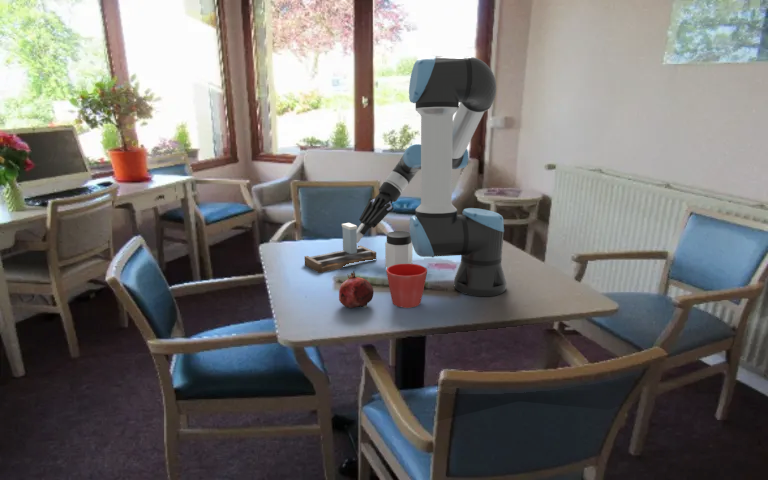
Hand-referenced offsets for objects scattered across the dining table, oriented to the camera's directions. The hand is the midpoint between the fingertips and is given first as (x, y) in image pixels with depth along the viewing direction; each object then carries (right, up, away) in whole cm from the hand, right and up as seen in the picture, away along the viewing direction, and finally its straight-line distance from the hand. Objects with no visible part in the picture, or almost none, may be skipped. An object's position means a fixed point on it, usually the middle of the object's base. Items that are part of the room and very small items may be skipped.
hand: (354, 240), depth 172 cm
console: (-4, -8, -2) cm, 9 cm away
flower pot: (+17, -17, -36) cm, 43 cm away
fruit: (+3, -18, -38) cm, 42 cm away
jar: (+15, -10, -9) cm, 20 cm away
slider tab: (-1, -5, -1) cm, 6 cm away
